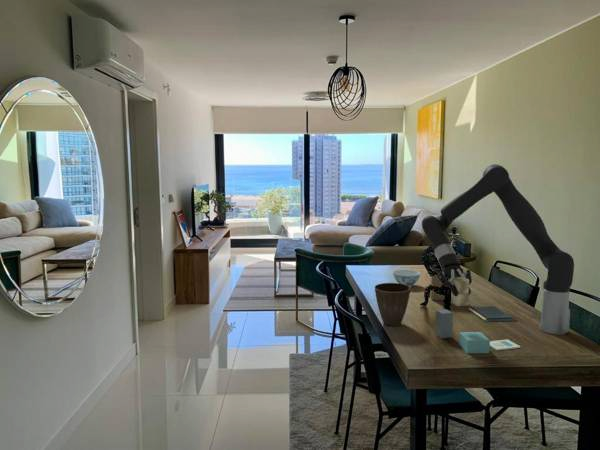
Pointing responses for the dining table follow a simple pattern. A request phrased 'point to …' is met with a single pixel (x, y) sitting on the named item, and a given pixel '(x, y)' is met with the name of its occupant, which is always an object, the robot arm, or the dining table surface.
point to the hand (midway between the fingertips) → (462, 294)
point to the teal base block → (474, 342)
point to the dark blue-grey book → (491, 314)
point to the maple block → (460, 291)
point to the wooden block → (437, 282)
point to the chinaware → (406, 277)
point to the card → (503, 345)
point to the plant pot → (392, 302)
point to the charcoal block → (444, 323)
